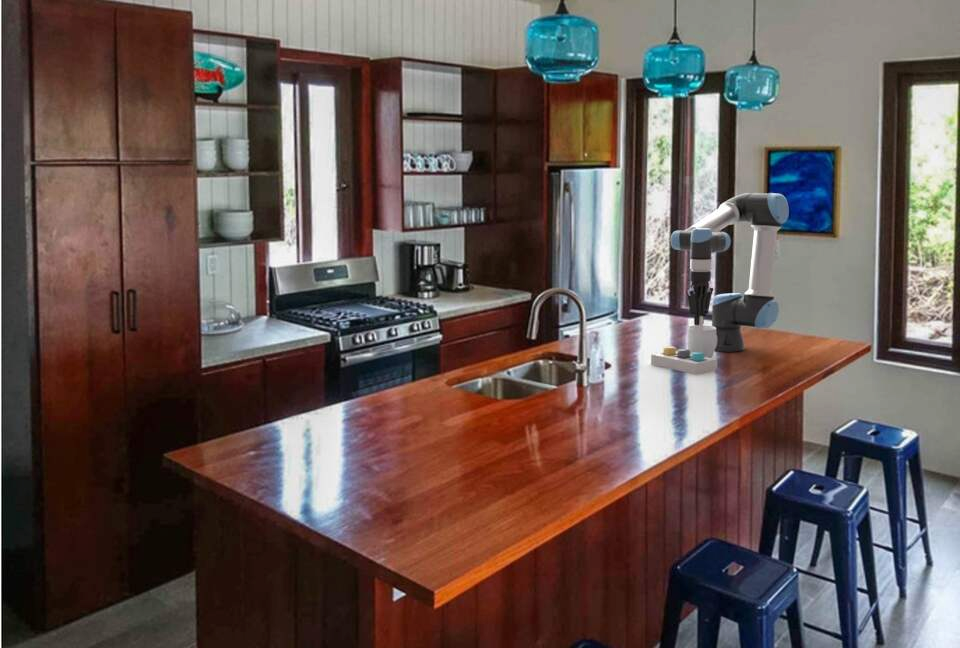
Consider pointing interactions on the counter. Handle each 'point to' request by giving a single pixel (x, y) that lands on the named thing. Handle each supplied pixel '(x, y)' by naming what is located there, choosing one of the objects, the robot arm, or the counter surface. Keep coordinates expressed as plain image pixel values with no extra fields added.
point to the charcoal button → (683, 353)
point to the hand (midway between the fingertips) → (698, 333)
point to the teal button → (698, 356)
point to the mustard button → (669, 350)
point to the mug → (702, 340)
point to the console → (683, 363)
